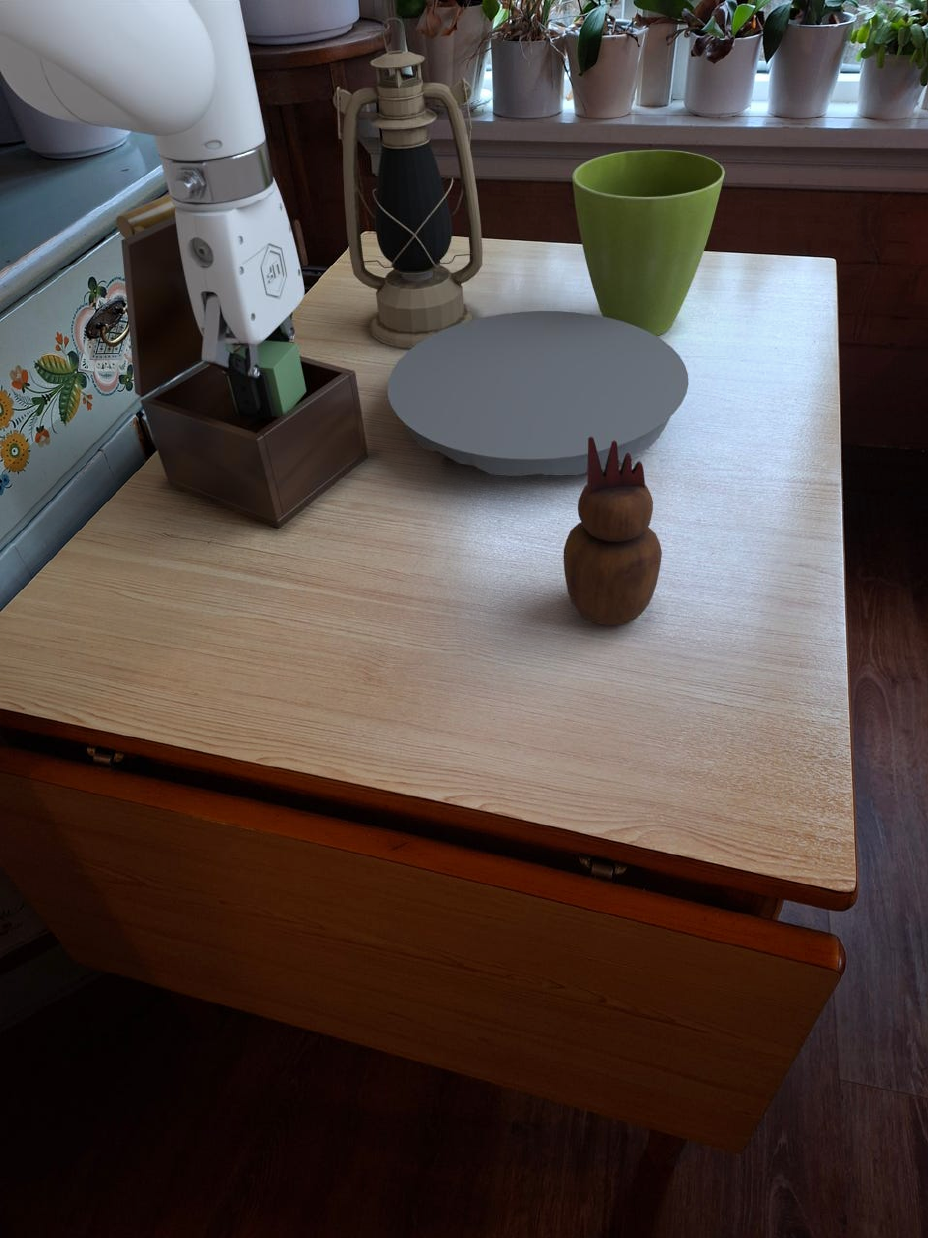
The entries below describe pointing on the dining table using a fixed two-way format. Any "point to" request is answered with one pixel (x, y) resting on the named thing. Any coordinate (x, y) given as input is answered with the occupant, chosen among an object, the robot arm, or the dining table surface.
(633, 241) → the flower pot
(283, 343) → the block
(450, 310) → the lantern
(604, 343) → the flat disc
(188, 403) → the chest
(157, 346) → the lid
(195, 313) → the robot arm
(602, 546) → the wooden figurine
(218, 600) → the dining table surface
